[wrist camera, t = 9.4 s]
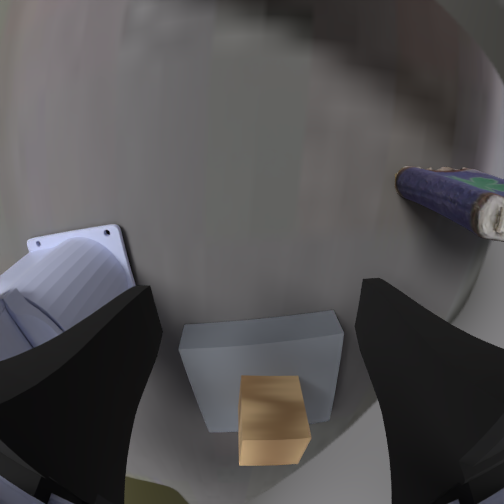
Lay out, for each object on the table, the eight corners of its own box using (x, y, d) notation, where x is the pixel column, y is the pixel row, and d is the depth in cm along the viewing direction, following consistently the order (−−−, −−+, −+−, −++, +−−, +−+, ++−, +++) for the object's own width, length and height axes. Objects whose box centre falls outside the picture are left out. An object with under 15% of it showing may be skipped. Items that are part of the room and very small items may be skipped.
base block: (210, 409, 27) (209, 432, 25) (184, 324, 22) (178, 349, 20) (323, 398, 27) (329, 420, 25) (333, 309, 22) (343, 333, 20)
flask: (478, 167, 18) (574, 205, 8) (475, 200, 19) (565, 250, 9) (392, 163, 18) (504, 206, 8) (391, 203, 19) (491, 270, 9)
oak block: (238, 407, 23) (239, 465, 17) (241, 375, 21) (242, 440, 16) (288, 407, 23) (297, 463, 18) (298, 375, 21) (311, 437, 16)
